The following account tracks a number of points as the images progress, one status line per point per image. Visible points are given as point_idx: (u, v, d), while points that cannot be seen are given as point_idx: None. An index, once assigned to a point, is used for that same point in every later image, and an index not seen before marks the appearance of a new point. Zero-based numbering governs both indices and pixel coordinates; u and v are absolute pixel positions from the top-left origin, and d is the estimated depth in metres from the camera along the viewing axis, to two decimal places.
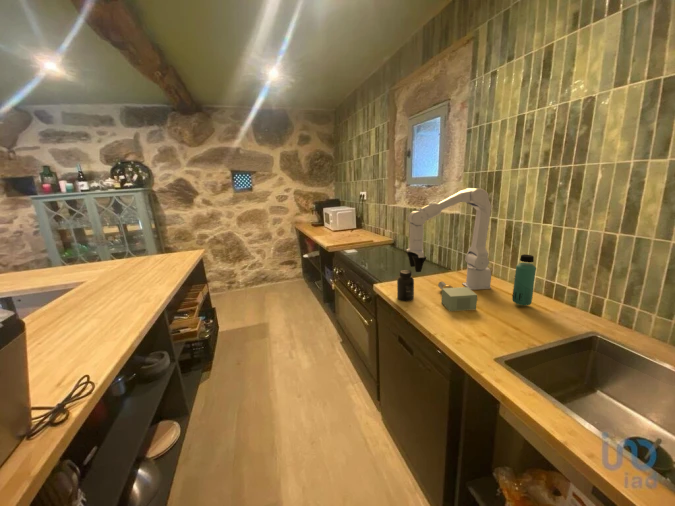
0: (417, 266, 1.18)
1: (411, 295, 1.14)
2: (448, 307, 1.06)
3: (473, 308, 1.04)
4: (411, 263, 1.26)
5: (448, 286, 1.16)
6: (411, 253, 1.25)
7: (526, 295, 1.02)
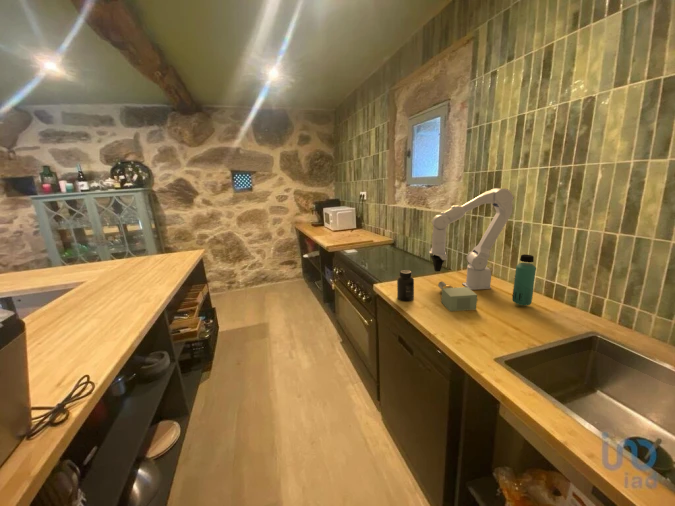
0: (437, 266, 1.26)
1: (411, 295, 1.14)
2: (448, 307, 1.06)
3: (473, 308, 1.04)
4: None
5: (448, 286, 1.16)
6: None
7: (526, 295, 1.02)
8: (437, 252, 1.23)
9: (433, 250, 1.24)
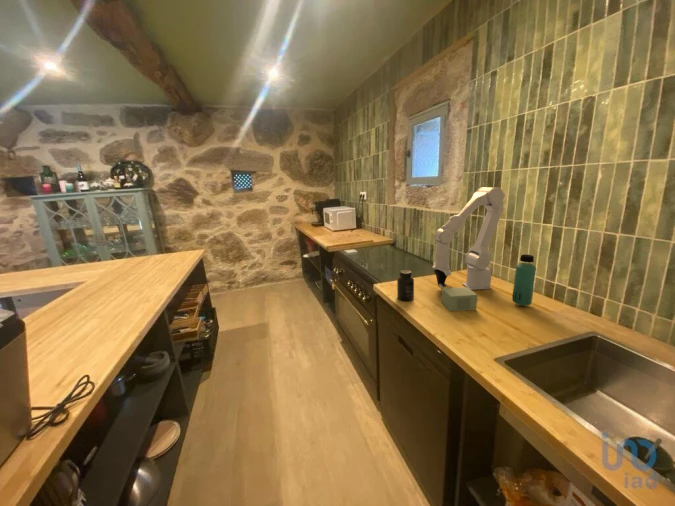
0: (440, 280, 1.23)
1: (411, 295, 1.14)
2: (448, 307, 1.06)
3: (473, 308, 1.04)
4: None
5: (449, 287, 1.16)
6: None
7: (526, 295, 1.02)
8: (440, 267, 1.20)
9: (436, 265, 1.21)
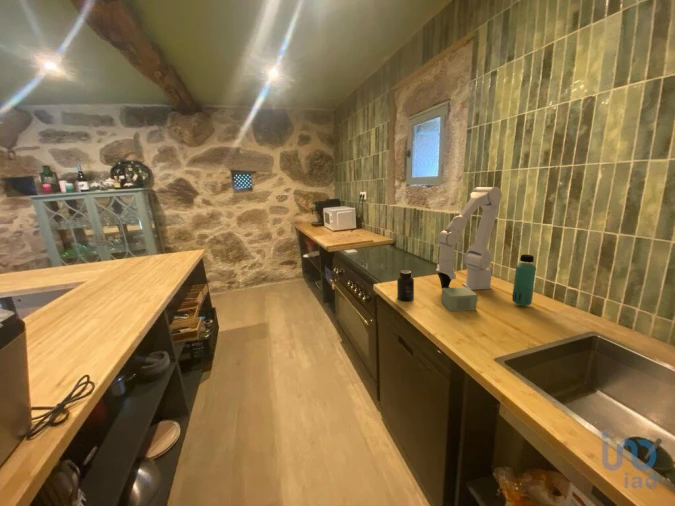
0: (444, 284, 1.19)
1: (411, 295, 1.14)
2: (448, 307, 1.06)
3: (473, 308, 1.04)
4: None
5: None
6: None
7: (526, 295, 1.02)
8: (445, 270, 1.15)
9: (440, 268, 1.17)
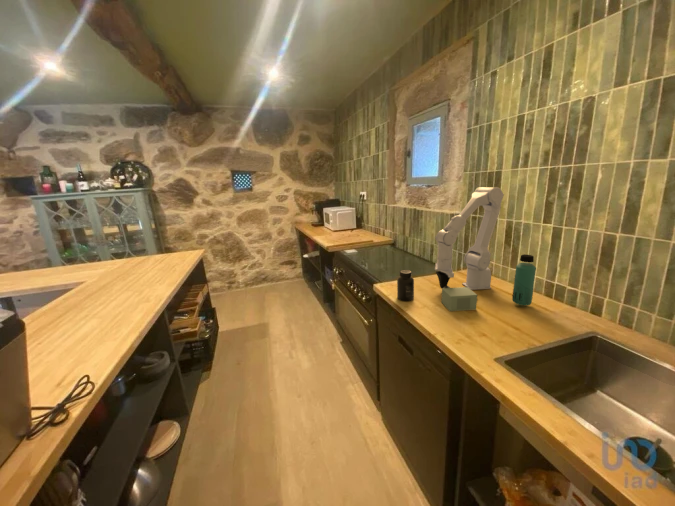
0: (442, 282, 1.21)
1: (411, 295, 1.14)
2: (448, 307, 1.06)
3: (473, 308, 1.04)
4: None
5: None
6: None
7: (526, 295, 1.02)
8: (443, 269, 1.17)
9: (439, 266, 1.19)
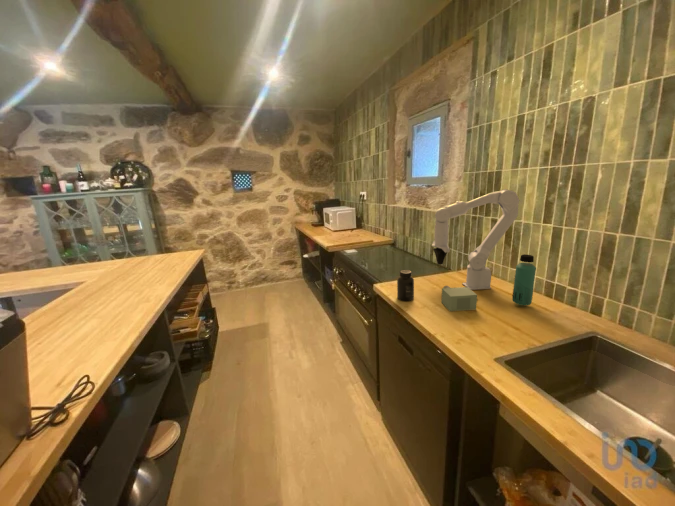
0: (439, 258, 1.28)
1: (411, 295, 1.14)
2: (448, 307, 1.06)
3: (473, 308, 1.04)
4: None
5: None
6: None
7: (526, 295, 1.02)
8: (440, 245, 1.24)
9: (436, 243, 1.26)
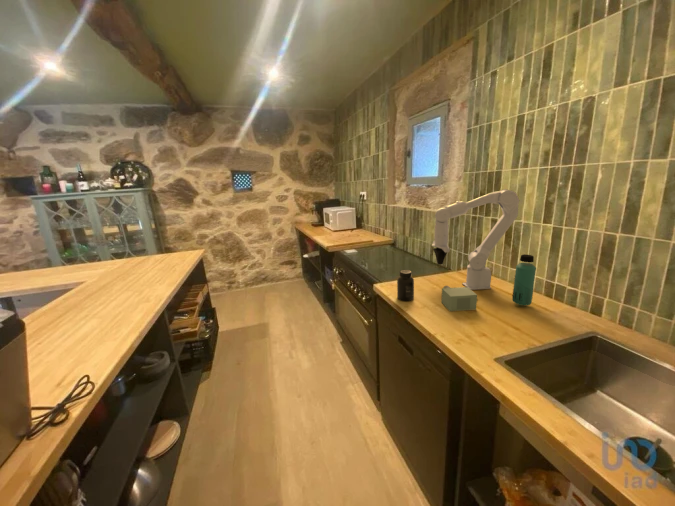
0: (439, 258, 1.28)
1: (411, 295, 1.14)
2: (448, 307, 1.06)
3: (473, 308, 1.04)
4: None
5: None
6: None
7: (526, 295, 1.02)
8: (440, 245, 1.24)
9: (436, 243, 1.26)
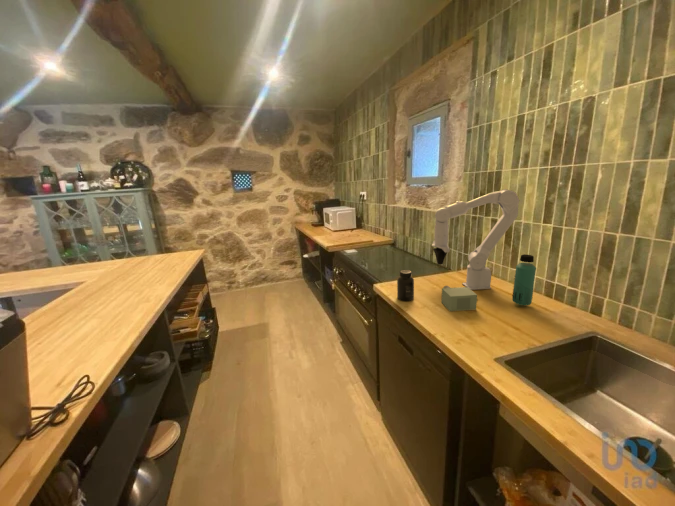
0: (439, 258, 1.28)
1: (411, 295, 1.14)
2: (448, 307, 1.06)
3: (473, 308, 1.04)
4: None
5: None
6: None
7: (526, 295, 1.02)
8: (440, 245, 1.24)
9: (436, 243, 1.26)
